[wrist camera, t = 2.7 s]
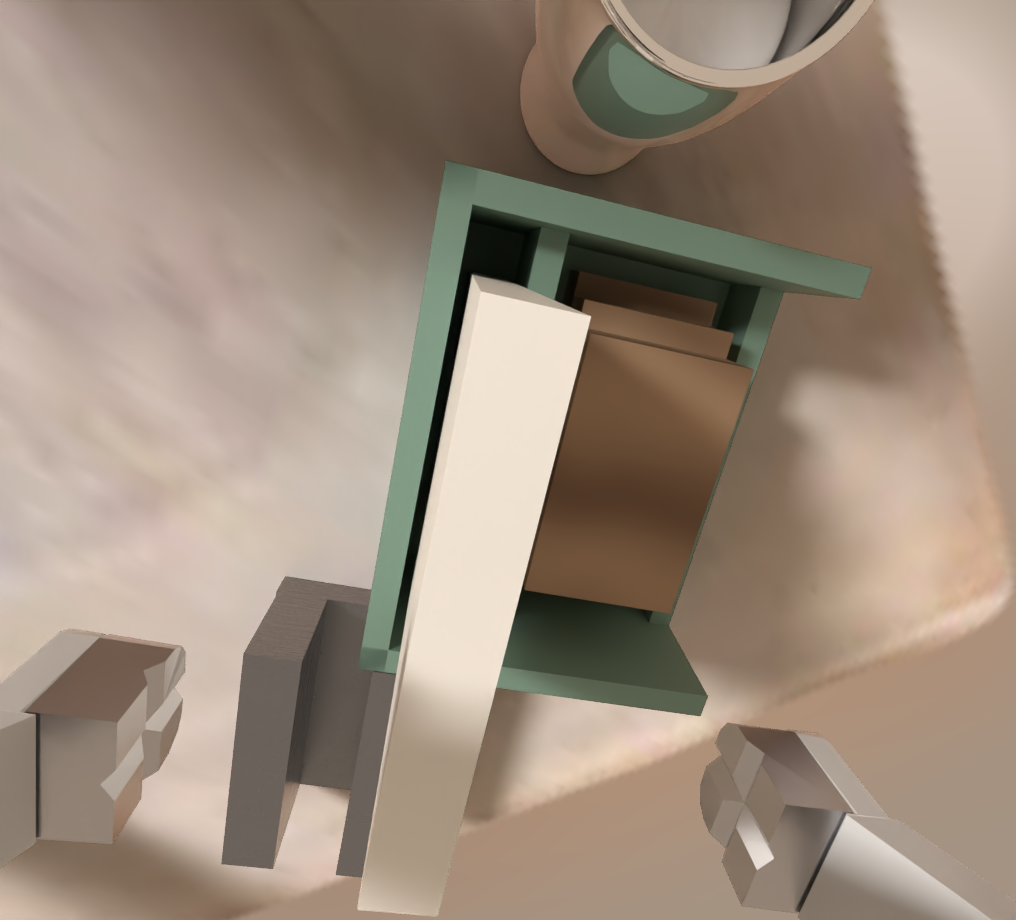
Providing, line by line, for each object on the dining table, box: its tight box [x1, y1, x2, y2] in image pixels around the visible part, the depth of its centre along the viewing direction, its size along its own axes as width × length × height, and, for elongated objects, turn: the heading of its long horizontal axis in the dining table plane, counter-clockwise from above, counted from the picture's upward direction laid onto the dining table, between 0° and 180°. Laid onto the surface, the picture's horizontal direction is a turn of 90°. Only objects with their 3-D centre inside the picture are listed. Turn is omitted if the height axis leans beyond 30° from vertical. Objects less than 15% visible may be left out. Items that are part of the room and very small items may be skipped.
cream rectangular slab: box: [357, 271, 591, 917], centre depth 19 cm, size 12×2×19 cm, turn 167°
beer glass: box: [520, 0, 874, 175], centre depth 18 cm, size 7×7×15 cm
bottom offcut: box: [562, 270, 718, 327], centre depth 28 cm, size 14×6×2 cm, turn 167°
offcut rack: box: [358, 160, 872, 716], centre depth 26 cm, size 18×14×9 cm
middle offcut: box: [571, 296, 734, 359], centre depth 26 cm, size 12×6×2 cm, turn 168°
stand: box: [222, 577, 396, 877], centre depth 31 cm, size 12×8×6 cm, turn 167°
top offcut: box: [523, 328, 754, 614], centre depth 23 cm, size 10×6×2 cm, turn 168°
